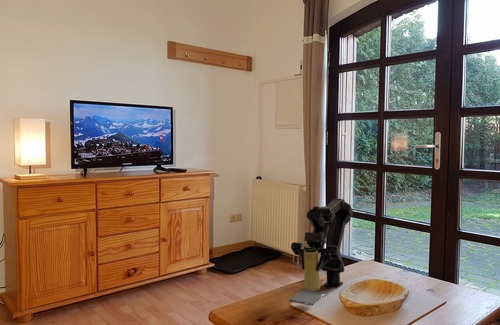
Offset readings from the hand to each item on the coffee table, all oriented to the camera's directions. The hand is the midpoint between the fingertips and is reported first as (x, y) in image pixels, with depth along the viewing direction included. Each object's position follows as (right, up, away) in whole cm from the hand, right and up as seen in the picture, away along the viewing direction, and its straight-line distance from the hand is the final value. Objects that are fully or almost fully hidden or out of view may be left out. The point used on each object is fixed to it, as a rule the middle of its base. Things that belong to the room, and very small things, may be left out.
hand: (310, 270), depth 149 cm
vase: (+1, -7, +1) cm, 7 cm away
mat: (+1, -13, +8) cm, 15 cm away
